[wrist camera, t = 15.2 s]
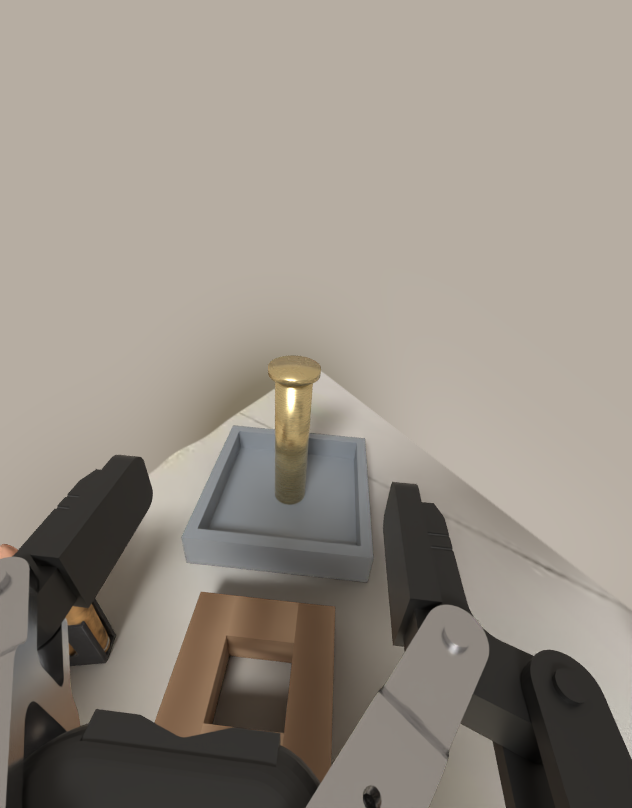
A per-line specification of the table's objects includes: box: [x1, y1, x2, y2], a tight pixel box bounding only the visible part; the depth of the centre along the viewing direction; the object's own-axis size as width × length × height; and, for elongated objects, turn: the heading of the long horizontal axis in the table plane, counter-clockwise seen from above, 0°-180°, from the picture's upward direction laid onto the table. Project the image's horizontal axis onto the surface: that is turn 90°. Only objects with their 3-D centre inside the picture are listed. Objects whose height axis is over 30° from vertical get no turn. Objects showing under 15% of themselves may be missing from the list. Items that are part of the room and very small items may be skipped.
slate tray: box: [181, 425, 373, 582], centre depth 37 cm, size 16×16×4 cm
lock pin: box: [268, 356, 321, 505], centre depth 34 cm, size 4×4×15 cm
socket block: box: [155, 592, 335, 783], centre depth 23 cm, size 10×10×3 cm
